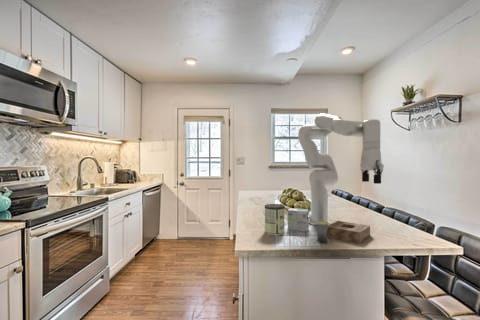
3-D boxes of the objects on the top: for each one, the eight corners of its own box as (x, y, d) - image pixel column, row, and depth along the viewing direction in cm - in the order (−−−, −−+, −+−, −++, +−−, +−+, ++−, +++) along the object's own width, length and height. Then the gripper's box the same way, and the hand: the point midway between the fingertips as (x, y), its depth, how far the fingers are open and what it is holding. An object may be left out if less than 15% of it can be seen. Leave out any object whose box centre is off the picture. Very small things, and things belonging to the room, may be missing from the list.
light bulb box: (308, 228, 145) (308, 208, 145) (307, 231, 139) (307, 211, 139) (289, 227, 149) (289, 207, 149) (287, 230, 142) (287, 210, 142)
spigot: (315, 241, 122) (315, 222, 122) (319, 239, 125) (319, 220, 125) (325, 243, 119) (324, 223, 119) (329, 241, 122) (328, 221, 122)
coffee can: (268, 229, 144) (268, 203, 144) (286, 231, 140) (286, 204, 140) (261, 234, 135) (261, 206, 135) (281, 236, 130) (281, 207, 130)
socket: (325, 236, 129) (325, 226, 129) (337, 230, 141) (337, 220, 141) (359, 243, 119) (359, 232, 119) (370, 235, 131) (370, 225, 131)
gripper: (354, 146, 133) (354, 181, 133) (374, 145, 116) (374, 184, 116) (368, 146, 134) (368, 180, 134) (390, 145, 116) (390, 184, 116)
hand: (371, 182), depth 125 cm, fingers open, 9 cm apart
